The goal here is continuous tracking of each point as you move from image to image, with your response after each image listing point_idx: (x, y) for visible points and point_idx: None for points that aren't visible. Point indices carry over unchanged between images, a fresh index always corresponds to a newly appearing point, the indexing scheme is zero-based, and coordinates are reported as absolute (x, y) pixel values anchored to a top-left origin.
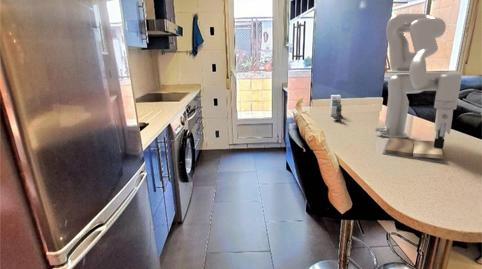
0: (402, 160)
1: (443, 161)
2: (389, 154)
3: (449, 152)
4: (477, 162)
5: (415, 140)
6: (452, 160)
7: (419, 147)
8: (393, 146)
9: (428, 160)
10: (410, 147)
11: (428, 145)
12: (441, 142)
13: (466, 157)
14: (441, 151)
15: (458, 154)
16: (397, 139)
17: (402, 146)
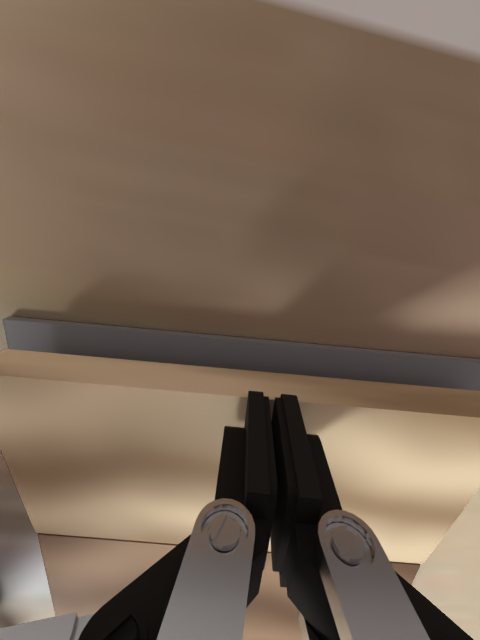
0: (468, 565)
1: (468, 366)
2: None
3: (133, 267)
4: (384, 30)
5: (35, 528)
6: (385, 284)
7: None
8: (290, 636)
9: None
10: (269, 564)
11: (188, 475)
12: (330, 481)
13: (235, 124)
14: (411, 417)
15: (160, 191)
16: (85, 613)
17: (266, 600)
